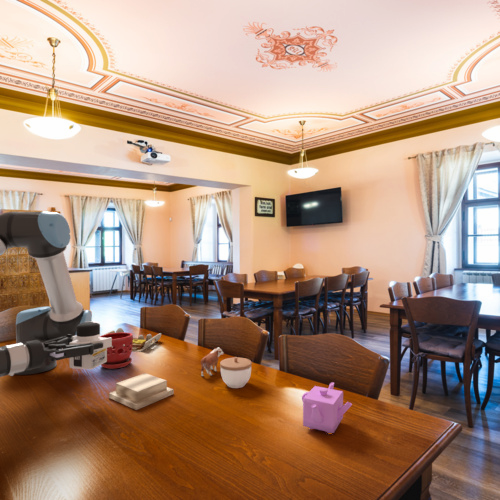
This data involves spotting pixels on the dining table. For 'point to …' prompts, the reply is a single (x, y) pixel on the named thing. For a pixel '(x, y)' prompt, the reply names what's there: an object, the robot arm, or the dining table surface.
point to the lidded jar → (235, 371)
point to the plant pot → (119, 350)
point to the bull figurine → (210, 361)
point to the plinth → (141, 403)
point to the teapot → (323, 408)
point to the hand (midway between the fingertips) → (101, 339)
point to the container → (86, 335)
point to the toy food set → (140, 341)
